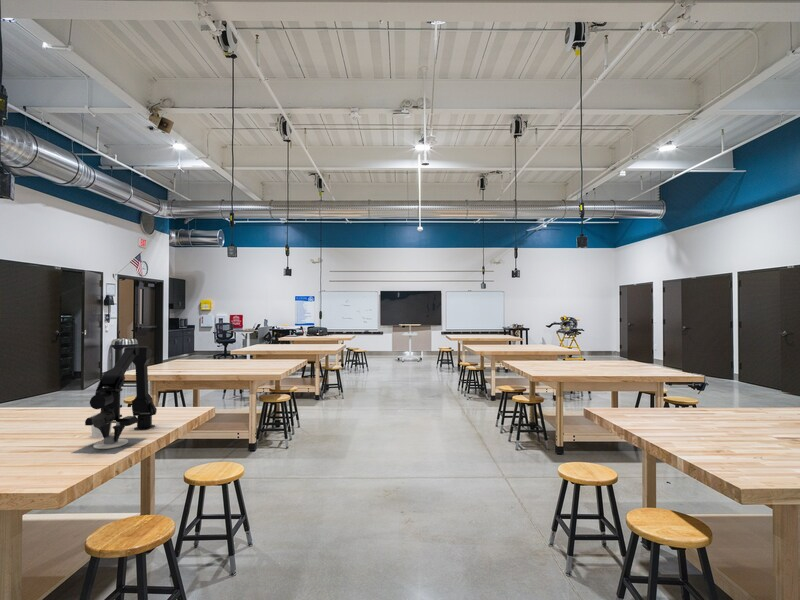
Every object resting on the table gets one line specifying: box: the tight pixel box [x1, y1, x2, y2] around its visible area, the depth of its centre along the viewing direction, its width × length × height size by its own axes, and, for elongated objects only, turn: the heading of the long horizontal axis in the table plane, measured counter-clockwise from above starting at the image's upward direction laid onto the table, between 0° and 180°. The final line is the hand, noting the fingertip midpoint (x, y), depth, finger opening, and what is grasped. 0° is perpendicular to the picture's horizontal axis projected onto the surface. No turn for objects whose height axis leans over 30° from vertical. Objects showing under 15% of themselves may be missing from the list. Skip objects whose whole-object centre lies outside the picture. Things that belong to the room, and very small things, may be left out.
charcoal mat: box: [71, 437, 148, 455], centre depth 177 cm, size 20×18×1 cm
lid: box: [93, 435, 128, 449], centre depth 177 cm, size 12×12×3 cm
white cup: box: [90, 412, 113, 439], centre depth 190 cm, size 8×8×10 cm
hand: (111, 441), depth 177 cm, fingers closed on lid, 4 cm apart
